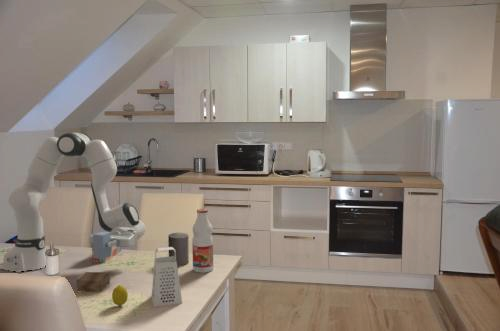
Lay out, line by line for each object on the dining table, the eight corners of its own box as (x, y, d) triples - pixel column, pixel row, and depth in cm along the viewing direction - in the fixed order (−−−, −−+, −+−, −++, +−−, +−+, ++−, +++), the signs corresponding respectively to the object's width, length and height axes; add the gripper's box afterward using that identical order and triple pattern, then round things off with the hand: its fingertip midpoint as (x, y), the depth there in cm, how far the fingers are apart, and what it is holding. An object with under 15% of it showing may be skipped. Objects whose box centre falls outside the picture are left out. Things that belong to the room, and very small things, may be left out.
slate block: (93, 257, 196) (92, 234, 195) (101, 254, 201) (100, 231, 200) (103, 259, 194) (102, 235, 193) (111, 255, 199) (110, 232, 198)
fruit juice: (217, 269, 215) (216, 209, 212) (201, 274, 208) (200, 212, 205) (205, 265, 221) (204, 206, 219) (188, 269, 215) (187, 209, 212)
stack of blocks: (109, 250, 248) (109, 227, 247) (121, 250, 247) (120, 227, 246) (92, 262, 227) (91, 237, 225) (104, 263, 226) (104, 238, 225)
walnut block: (76, 292, 189) (76, 280, 188) (86, 283, 198) (86, 272, 198) (101, 292, 188) (100, 280, 188) (109, 283, 198) (109, 272, 198)
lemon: (114, 303, 176) (113, 282, 175) (129, 303, 176) (128, 282, 176) (111, 309, 170) (110, 288, 170) (126, 308, 171) (125, 287, 170)
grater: (182, 303, 176) (181, 251, 174) (153, 306, 173) (152, 253, 171) (178, 293, 186) (177, 244, 184) (151, 296, 183) (150, 246, 181)
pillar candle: (164, 262, 225) (163, 232, 224) (180, 258, 232) (180, 228, 231) (177, 267, 219) (176, 236, 217) (193, 262, 226) (192, 232, 224)
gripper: (100, 227, 212) (80, 235, 199) (139, 231, 206) (120, 239, 193) (101, 241, 213) (80, 249, 200) (139, 245, 206) (121, 254, 193)
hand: (100, 244), depth 196 cm, fingers closed on slate block, 5 cm apart
